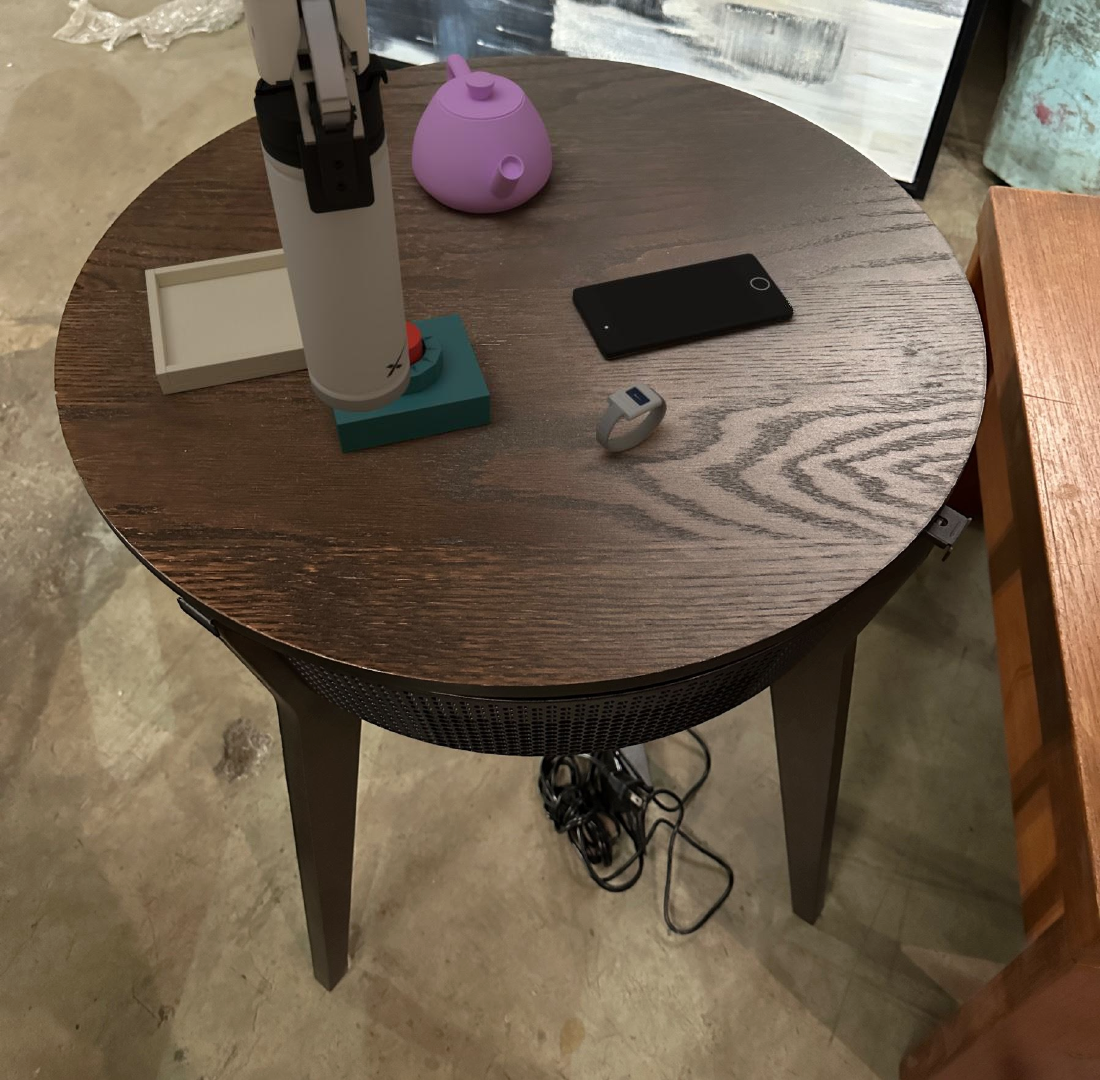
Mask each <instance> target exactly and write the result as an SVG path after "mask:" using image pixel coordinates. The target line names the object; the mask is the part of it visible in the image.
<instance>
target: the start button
mask: <svg viewBox="0 0 1100 1080" xmlns="http://www.w3.org/2000/svg"><path fill="white" fill-rule="evenodd" d="M409 322H410V321H406V331H407V341H408V351H409V361H410V366H411V365H413V364H415V363H416V362H417V361H419V359H420V358H421V356H422V352H423V351H422V340H421V332H420V330H419V329H418V328H417V327H416V326H415V325H414V324H412V323H409Z"/></svg>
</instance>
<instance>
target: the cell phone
mask: <svg viewBox="0 0 1100 1080" xmlns="http://www.w3.org/2000/svg"><path fill="white" fill-rule="evenodd" d="M771 278H772V277H771V276H770V274H769V273H768V271H767V270H766V268H765V267H764V266H763V264H761V262H760V261H759V259H758V258H757V257H756V256H755V254H753V253H750V252H749V253H742V254H737V255H732V256H728V257H727V256H726V257H721V258H717V259H712V260H707V261H702V262H698V263H693V264H687V265H683V266H677V267H673V268H667V269H663V270H657V271H652V272H647V273H643V274H638V275H633V276H627V277H623V278H619V279H613V280H608V281H603V282H598V283H594V284H593V283H592V284H589V285H584V286H580V287H575V288H574V289H573V290H572V301H573V303H574V306H575V307H576V309H577V311H578V313H579V314H580V317H581V318H582V320H583V322H584V324H585V325H586V327H587V329H588V332H589V333H590V335H591V337H592V338H593V341H594V343H595V344H596V346H597V348H598V349H599V351H600V354H601V355H602V356H603V357H604V358H605V359H607V360H611V359H615V358H619V357H624V356H628V355H632V354H636V353H641V352H646V351H650V350H654V349H655V350H656V349H660V348H664V347H669V346H673V345H674V346H675V345H678V344H682V343H683V344H684V343H687V342H691V341H697V340H700V339H705V338H709V337H710V338H711V337H714V336H719V335H723V334H727V333H732V332H737V331H742V330H746V329H751V328H755V327H759V326H763V325H769V324H772V323H778V322H783V321H789V320H792V319H793V316H794V314H795V310H793V309H794V307H793V306H792V304H791V302H789V300H788V299H787V297H786V296H785V294H784V293H783V292H782V291H781V289H780V288H779V287H778V285H777V284H776V283H775V281H774V280H773V278H772V279H771ZM786 299H787V300H786ZM788 302H789V303H788ZM789 304H790V305H791V306H790V305H789ZM792 307H793V308H792ZM793 311H794V312H793Z"/></svg>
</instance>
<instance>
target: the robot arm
mask: <svg viewBox="0 0 1100 1080" xmlns="http://www.w3.org/2000/svg"><path fill="white" fill-rule="evenodd" d="M241 3H242V8H243V12H244V19H245V22H246V25H247V31H248V35H249V39H250V44H251V48H252V52H253V56H254V61H255V65H256V69H257V72H258V75H259V77H260V78H262V79H263V80H265V81H266V82H267V83H269V84H271V85H276V81H282V80H290V77H291V79H292V81H293V85H294V91H295V96H296V101H297V107H298V112H299V117H300V123H301V128H302V133H303V134H297V138H298V144H299V150H300V156H301V161H302V167H303V173H304V178H305V184H306V190H307V196H308V201H309V205H310V209H311V211H312V212H314V213H316V214H320V213H328V212H335V211H342V210H349V209H357V208H364V207H369V206H371V205H373V204H374V202H375V196H374V188H373V179H372V170H371V162H370V153H369V145H368V136H367V130H366V127H365V126H363V122H362V116H361V110H360V103H359V97H358V91H357V85H356V78H355V71H356V73H357V75H360V74H361V73H362V72H363V71H364V70H365V69H366V67H367V66H368V64H369V54H370V46H369V45H370V41H369V40H370V39H369V28H368V15H367V13H368V12H367V2H366V0H241ZM340 50H341V54H340ZM301 54H309V55H310V60H311V65H312V67H307V68H299V62H298V57H297V56H298V55H301ZM341 56H342V59H341ZM342 62H343V64H342ZM314 83H315V86H316V92H317V101H318V102H312V106H311V109H312V110H311V109H310V103H309V98H308V92H307V87H306V84H314Z"/></svg>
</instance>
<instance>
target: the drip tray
mask: <svg viewBox="0 0 1100 1080" xmlns="http://www.w3.org/2000/svg"><path fill="white" fill-rule="evenodd" d="M144 275H145V285H146V292H147V293H146V295H147V304H148V312H149V321H150V331H151V341H152V351H153V359H154V367H155V376H156V378H157V381H158V383H159V386H160V389H161V392H162V394H163V396H164V395H171V394H175V393H181V392H186V391H191V390H198V389H202V388H203V389H204V388H208V387H213V386H219V385H224V384H230V383H235V382H242V381H247V380H251V379H257V378H263V377H269V376H273V375H280V374H284V373H285V374H286V373H290V372H296V371H302V370H308V367H307V362H306V358H305V353H304V348H303V343H302V338H301V334H300V329H299V324H298V319H297V314H296V310H295V305H294V300H293V295H292V290H291V286H290V281H289V276H288V271H287V266H286V262H285V257H284V252H283V247H282V248H276V249H269V250H263V251H257V252H251V253H245V254H238V255H232V256H226V257H219V258H214V259H207V260H200V261H194V262H188V263H182V264H176V265H170V266H169V265H168V266H164V267H156V268H150V269H145V270H144Z"/></svg>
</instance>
